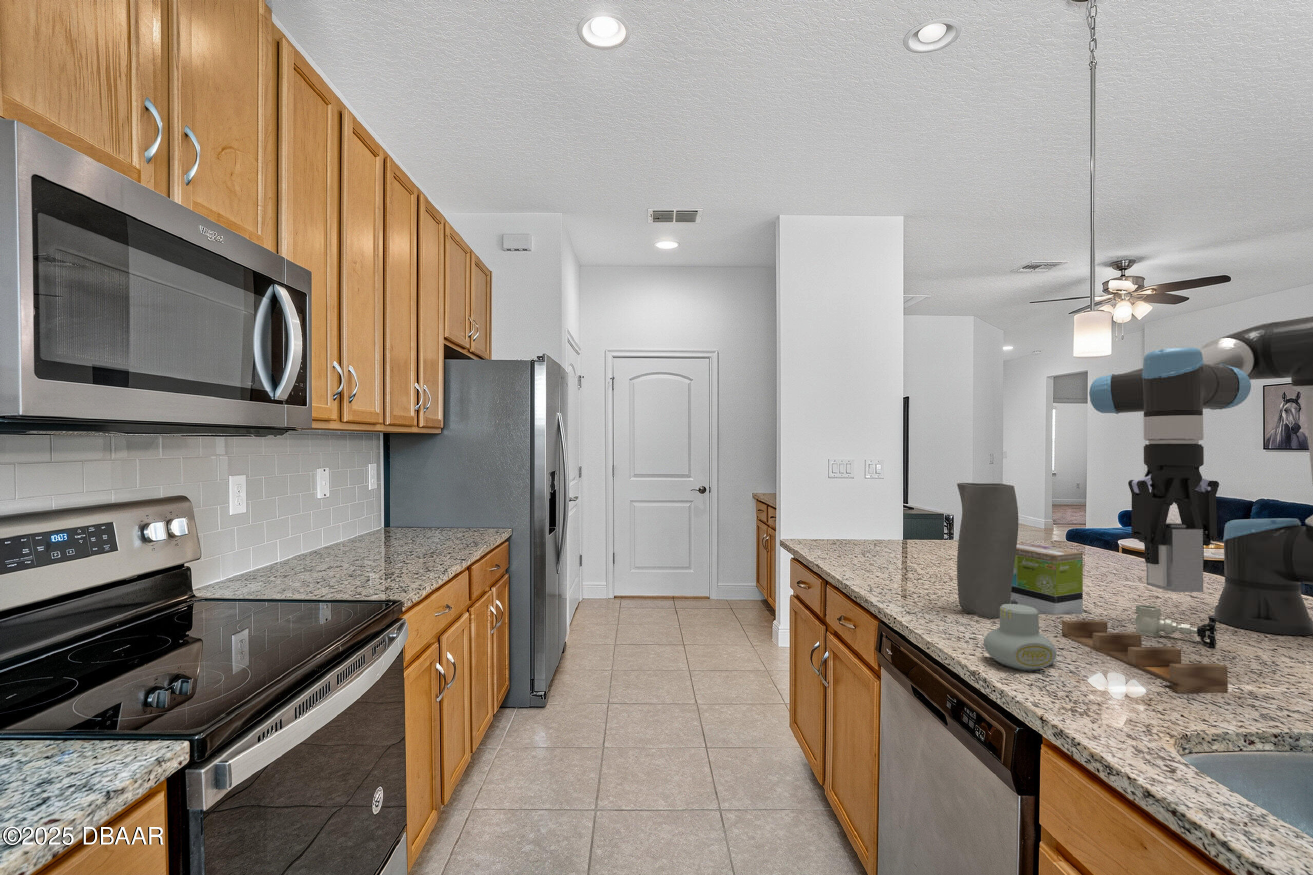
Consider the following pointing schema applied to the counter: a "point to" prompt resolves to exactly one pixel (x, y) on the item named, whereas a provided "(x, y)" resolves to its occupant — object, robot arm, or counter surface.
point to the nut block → (1182, 558)
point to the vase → (986, 547)
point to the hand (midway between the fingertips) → (1174, 583)
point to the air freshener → (1019, 640)
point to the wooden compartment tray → (1148, 657)
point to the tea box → (1048, 579)
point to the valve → (1171, 625)
